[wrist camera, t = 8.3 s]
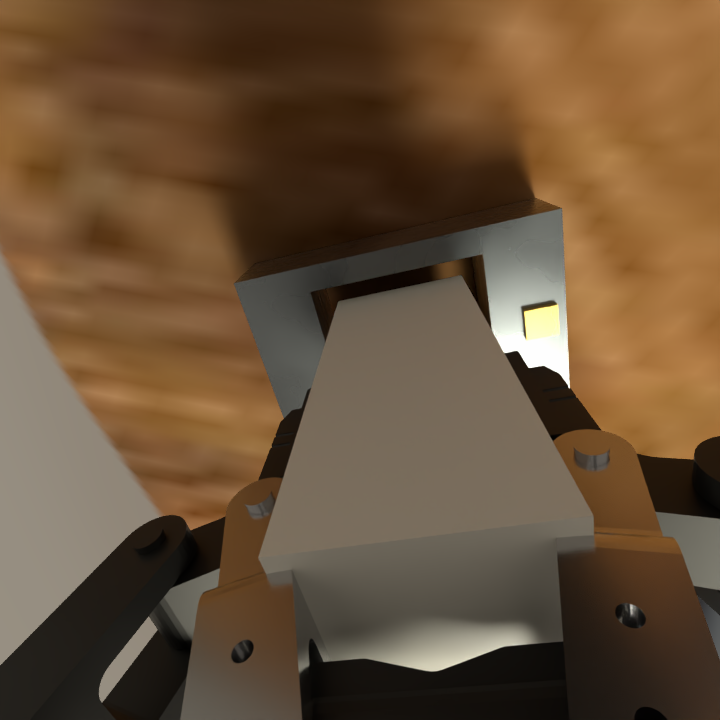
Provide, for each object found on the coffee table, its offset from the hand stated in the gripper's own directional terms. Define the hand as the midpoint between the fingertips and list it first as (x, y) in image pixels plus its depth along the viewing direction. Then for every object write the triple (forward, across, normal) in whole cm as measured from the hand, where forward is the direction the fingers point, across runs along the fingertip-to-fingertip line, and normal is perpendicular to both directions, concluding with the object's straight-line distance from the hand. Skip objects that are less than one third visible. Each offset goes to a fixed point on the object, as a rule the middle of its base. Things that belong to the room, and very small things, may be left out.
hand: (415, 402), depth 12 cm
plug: (+4, 0, 0) cm, 4 cm away
